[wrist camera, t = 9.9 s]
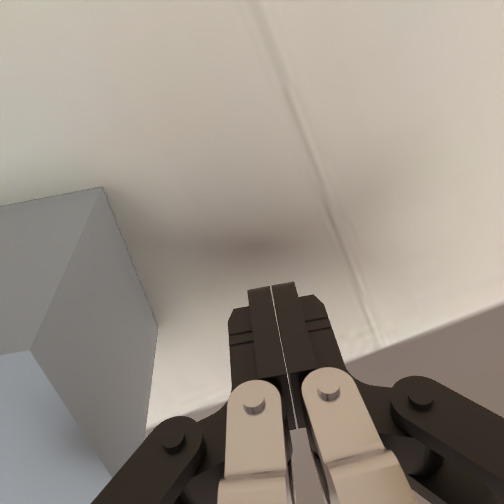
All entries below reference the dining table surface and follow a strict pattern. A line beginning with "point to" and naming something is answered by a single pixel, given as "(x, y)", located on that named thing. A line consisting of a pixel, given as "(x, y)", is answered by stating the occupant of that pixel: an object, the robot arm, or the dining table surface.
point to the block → (69, 350)
